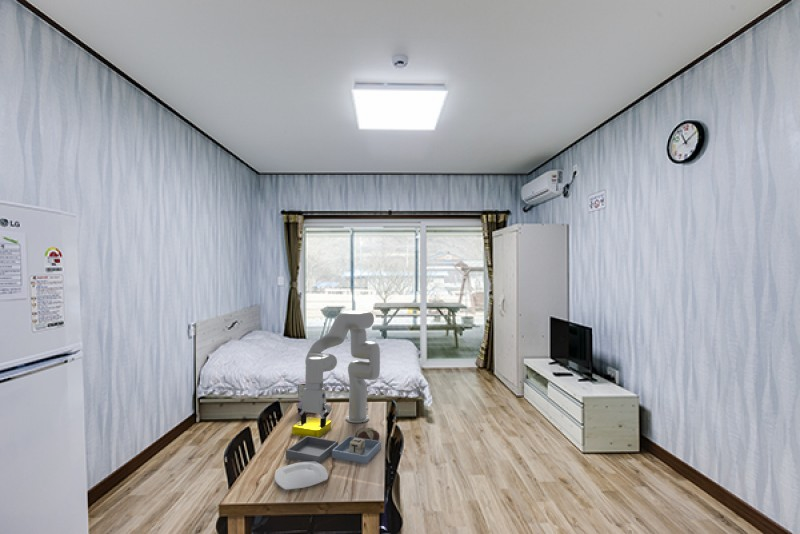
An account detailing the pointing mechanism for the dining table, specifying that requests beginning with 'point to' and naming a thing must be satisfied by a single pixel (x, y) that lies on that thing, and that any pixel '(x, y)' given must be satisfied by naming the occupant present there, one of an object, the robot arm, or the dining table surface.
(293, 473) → the plate
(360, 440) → the letter cube
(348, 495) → the dining table surface
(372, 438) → the bread
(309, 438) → the charcoal bin
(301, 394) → the candy bar box
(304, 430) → the element tile
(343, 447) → the slate bin
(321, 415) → the robot arm
